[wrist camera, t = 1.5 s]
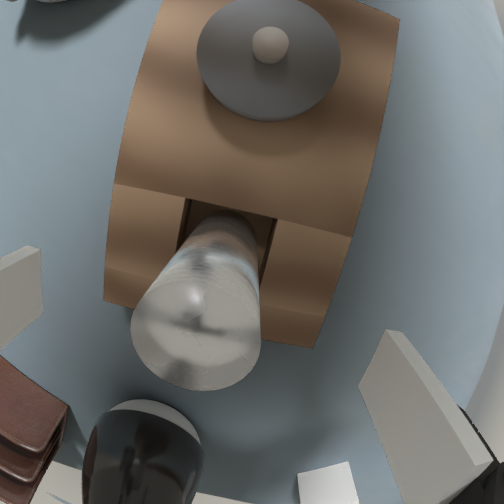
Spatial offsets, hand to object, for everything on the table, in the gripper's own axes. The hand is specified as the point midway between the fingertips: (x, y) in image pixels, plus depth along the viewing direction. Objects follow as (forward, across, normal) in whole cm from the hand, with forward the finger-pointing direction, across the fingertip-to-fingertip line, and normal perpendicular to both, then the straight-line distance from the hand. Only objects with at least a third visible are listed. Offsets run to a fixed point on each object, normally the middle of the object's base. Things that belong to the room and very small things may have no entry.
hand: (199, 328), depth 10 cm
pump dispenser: (+11, -3, -18) cm, 22 cm away
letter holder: (+11, -24, -23) cm, 35 cm away
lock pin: (+10, 0, 0) cm, 10 cm away
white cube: (+11, +17, -26) cm, 33 cm away
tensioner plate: (+11, 0, +6) cm, 12 cm away
